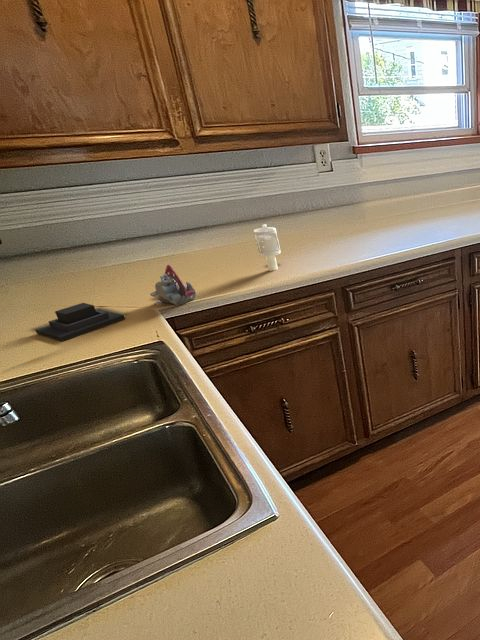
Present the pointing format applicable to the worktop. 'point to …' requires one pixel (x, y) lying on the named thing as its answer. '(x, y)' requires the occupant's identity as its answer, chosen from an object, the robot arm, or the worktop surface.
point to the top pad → (75, 313)
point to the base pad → (79, 325)
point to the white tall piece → (268, 245)
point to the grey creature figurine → (173, 289)
